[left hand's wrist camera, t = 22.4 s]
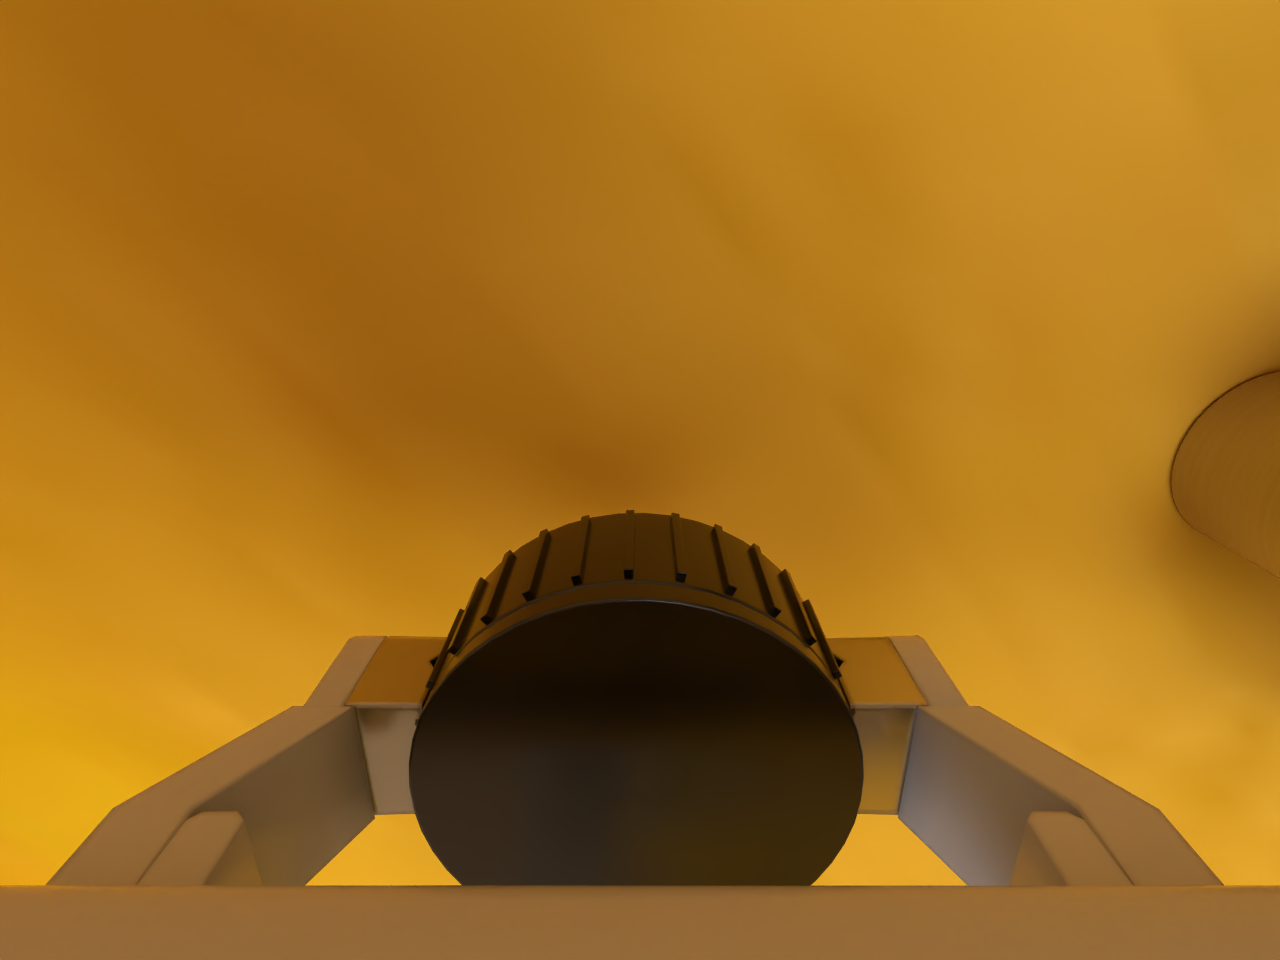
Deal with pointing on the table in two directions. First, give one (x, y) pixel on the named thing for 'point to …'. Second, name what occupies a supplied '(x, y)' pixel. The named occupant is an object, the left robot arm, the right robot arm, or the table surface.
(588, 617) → the lid
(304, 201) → the table surface
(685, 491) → the table surface
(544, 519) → the table surface
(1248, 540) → the bottle
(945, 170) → the table surface
